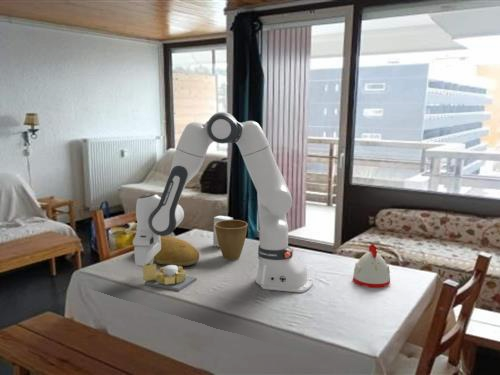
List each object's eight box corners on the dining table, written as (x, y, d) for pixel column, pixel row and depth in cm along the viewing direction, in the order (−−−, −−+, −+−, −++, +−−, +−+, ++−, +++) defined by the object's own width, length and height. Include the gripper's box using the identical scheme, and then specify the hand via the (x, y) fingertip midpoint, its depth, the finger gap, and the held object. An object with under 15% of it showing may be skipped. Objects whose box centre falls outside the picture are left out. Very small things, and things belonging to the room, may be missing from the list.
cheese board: (185, 272, 172) (185, 258, 171) (184, 283, 161) (184, 268, 160) (145, 274, 170) (145, 260, 169) (141, 285, 159) (140, 270, 158)
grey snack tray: (196, 280, 168) (196, 265, 167) (178, 291, 157) (178, 276, 156) (163, 273, 175) (163, 259, 174) (144, 284, 164) (143, 269, 163)
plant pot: (208, 257, 195) (208, 223, 193) (233, 250, 205) (233, 218, 202) (229, 265, 184) (229, 229, 182) (254, 257, 194) (254, 223, 192)
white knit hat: (357, 288, 160) (359, 249, 157) (349, 274, 173) (350, 239, 171) (394, 288, 160) (397, 249, 157) (383, 274, 173) (385, 239, 171)
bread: (184, 272, 177) (183, 249, 175) (125, 258, 195) (124, 237, 194) (210, 259, 192) (210, 238, 191) (154, 247, 211) (153, 228, 209)
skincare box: (213, 246, 212) (212, 217, 209) (219, 243, 217) (218, 214, 214) (227, 248, 208) (227, 219, 205) (233, 245, 213) (233, 216, 211)
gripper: (149, 227, 175) (150, 259, 177) (130, 242, 155) (132, 278, 157) (164, 228, 174) (165, 260, 177) (147, 243, 154) (148, 279, 157)
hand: (149, 269), depth 167 cm, fingers closed
